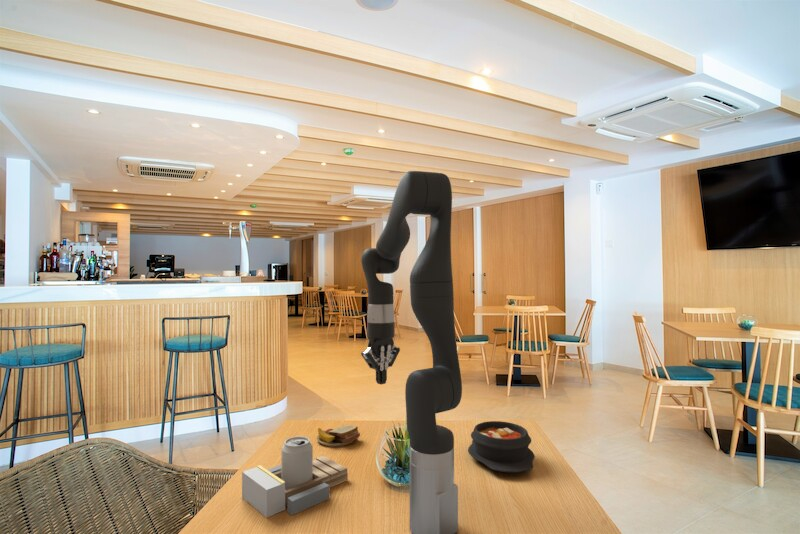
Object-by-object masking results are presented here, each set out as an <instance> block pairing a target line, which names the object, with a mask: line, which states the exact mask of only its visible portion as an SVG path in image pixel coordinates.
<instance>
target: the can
mask: <svg viewBox="0 0 800 534" xmlns="http://www.w3.org/2000/svg"><path fill="white" fill-rule="evenodd" d="M280 449H281V454H280V455H281V464H280V465H281V480H283V481H284V482H285V490H289V489H291V488H294V487H296V486H299V485H301V484H304V483H306V482H309V481H311V480H313V459H314V458H313V457H314V455H313V454H314V453H313V450H314V449H313V444H312V442H311V439H310V438H309V437H306V436H300V435H299V436H293V437H289V438H287V439H285V440H284V442H283V446H282V447H281V448H280Z"/></svg>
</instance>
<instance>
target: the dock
mask: <svg viewBox="0 0 800 534" xmlns="http://www.w3.org/2000/svg"><path fill="white" fill-rule="evenodd" d="M278 471H281V464H278V465H277V466H274V467H271V468H268V469H266V468H265V467H264V466H262V465H261V464H259V465H256V466H255V467H253V468H250V469H246V470H243V471H242V472H241V482H242V483H241V488H242V489H241V498H242V499H244V500H245V501H246V502H247V503H248V504H249V505H250V506H252V507H253V508H254V509H255V510H256V511H257V512H259V513H260V514H262V515H263V517H265V518H266V519H267V518H270V517H271V516H272V517H273V516H274V515H277V514H278V513H281V512H283V511H285V510H286V511H287V513H288V514H289V515H292V516H293V515H296V514H298V513H300V512H301V511H305V510H307V509H309V508H311V507H313V506H315V505H318V504H320V503H322V502H324V501H327V500H329V499H330V496H331V494H330V488H331V487H330V485H328V484H326V483H322V484H320V485H318V486H315V487H313V488H310V489H308V490H305V491H303V492H301V493H298V494H296V495H293V496H291V497H288V498H287V506H285V482H284V481H283V480H281V479H280V478H279V477H277V476H276V475H274V474H273V473H275V472H278ZM286 508H287V509H286Z"/></svg>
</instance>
